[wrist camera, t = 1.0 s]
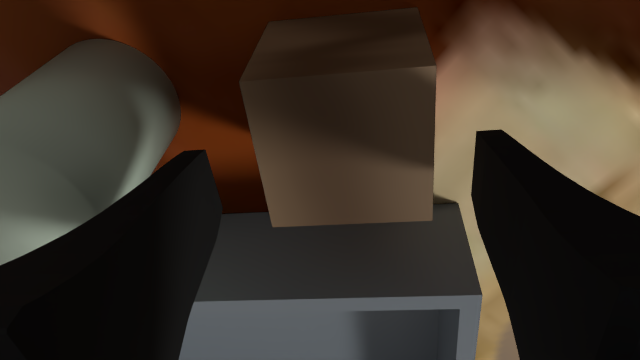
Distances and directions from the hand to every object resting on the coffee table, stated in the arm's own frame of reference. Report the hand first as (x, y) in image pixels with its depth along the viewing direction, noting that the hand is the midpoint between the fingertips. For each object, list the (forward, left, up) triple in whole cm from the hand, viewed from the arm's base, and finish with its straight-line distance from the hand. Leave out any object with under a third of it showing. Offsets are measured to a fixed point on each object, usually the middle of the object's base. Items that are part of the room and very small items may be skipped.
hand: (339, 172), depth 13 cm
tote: (+4, +12, -6) cm, 14 cm away
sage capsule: (+9, 0, -6) cm, 11 cm away
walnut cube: (0, 0, -6) cm, 6 cm away
